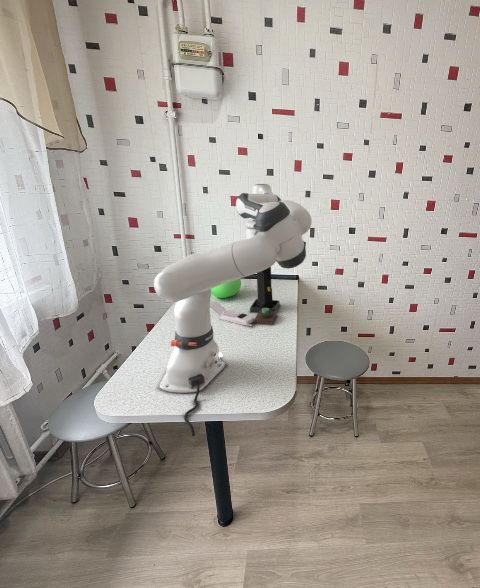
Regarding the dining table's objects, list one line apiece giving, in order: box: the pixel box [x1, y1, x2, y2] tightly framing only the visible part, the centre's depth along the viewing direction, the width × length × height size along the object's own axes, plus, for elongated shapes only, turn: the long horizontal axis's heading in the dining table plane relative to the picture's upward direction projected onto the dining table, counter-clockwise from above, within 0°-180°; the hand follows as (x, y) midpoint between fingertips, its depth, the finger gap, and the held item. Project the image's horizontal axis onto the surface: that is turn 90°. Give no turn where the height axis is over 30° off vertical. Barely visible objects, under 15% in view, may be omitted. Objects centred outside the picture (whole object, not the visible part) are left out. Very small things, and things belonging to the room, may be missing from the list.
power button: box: [262, 308, 269, 314], centre depth 152 cm, size 3×3×2 cm
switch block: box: [253, 310, 277, 326], centre depth 153 cm, size 10×8×4 cm
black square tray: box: [249, 298, 280, 314], centre depth 164 cm, size 11×12×3 cm
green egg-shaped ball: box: [211, 278, 242, 299], centre depth 174 cm, size 18×17×15 cm
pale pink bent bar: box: [210, 300, 255, 327], centre depth 151 cm, size 6×6×25 cm
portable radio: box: [256, 266, 274, 308], centre depth 160 cm, size 8×6×25 cm
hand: (263, 251), depth 154 cm, fingers open, 8 cm apart
